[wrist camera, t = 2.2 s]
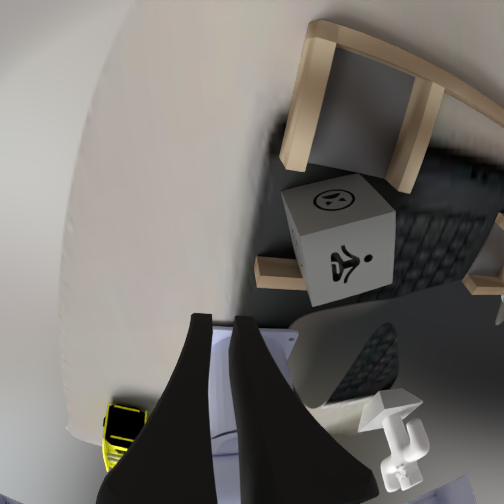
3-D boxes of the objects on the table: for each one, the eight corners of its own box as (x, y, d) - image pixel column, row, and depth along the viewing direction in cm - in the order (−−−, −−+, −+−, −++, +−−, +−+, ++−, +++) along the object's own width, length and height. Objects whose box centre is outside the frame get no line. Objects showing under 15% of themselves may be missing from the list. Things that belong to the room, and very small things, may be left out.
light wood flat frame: (496, 282, 27) (505, 294, 25) (254, 267, 21) (257, 287, 20) (555, 157, 18) (568, 166, 16) (308, 22, 12) (320, 19, 11)
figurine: (418, 376, 36) (455, 466, 24) (384, 409, 41) (410, 489, 29) (380, 381, 35) (415, 483, 23) (347, 414, 40) (371, 502, 28)
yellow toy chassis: (142, 442, 41) (141, 487, 34) (109, 435, 40) (105, 480, 33) (151, 405, 33) (148, 467, 26) (106, 396, 31) (97, 457, 25)
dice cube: (280, 190, 18) (299, 236, 14) (357, 172, 18) (395, 211, 14) (294, 254, 21) (312, 307, 17) (362, 236, 21) (392, 283, 17)
